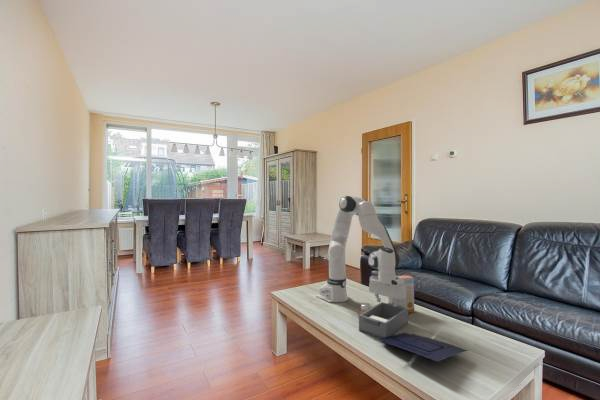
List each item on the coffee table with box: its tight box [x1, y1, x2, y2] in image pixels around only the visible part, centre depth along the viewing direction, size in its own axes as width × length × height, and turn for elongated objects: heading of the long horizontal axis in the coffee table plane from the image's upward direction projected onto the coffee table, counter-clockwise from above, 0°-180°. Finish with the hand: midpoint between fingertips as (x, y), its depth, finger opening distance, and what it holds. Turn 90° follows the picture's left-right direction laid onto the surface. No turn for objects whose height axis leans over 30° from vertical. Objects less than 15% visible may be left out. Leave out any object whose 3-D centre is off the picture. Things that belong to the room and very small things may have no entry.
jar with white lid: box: [360, 302, 371, 314], centre depth 160 cm, size 5×5×8 cm
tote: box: [358, 301, 409, 339], centre depth 150 cm, size 15×27×8 cm, turn 137°
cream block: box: [369, 315, 388, 322], centre depth 145 cm, size 10×7×5 cm
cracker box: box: [387, 275, 415, 314], centre depth 171 cm, size 14×6×21 cm, turn 99°
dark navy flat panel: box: [378, 332, 469, 362], centre depth 126 cm, size 24×30×4 cm
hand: (386, 303), depth 154 cm, fingers open, 8 cm apart
